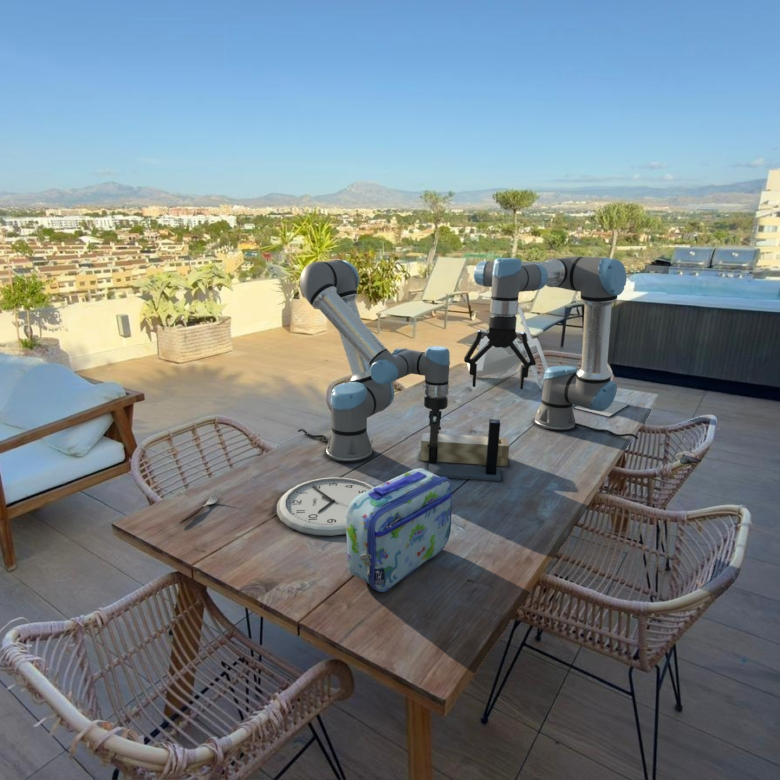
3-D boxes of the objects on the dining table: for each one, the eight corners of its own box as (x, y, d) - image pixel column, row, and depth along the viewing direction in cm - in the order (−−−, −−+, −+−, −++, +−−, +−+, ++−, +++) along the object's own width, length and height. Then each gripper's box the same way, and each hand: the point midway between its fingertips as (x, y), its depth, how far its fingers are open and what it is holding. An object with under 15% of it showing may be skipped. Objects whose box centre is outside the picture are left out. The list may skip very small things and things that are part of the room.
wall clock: (392, 527, 129) (268, 531, 127) (391, 533, 130) (269, 537, 127) (383, 473, 158) (282, 475, 155) (383, 478, 158) (282, 480, 156)
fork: (175, 524, 132) (174, 517, 132) (215, 495, 146) (215, 489, 146) (183, 526, 131) (182, 519, 131) (223, 497, 146) (222, 490, 145)
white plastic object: (487, 418, 267) (468, 395, 242) (469, 346, 289) (449, 318, 264) (558, 394, 255) (545, 368, 230) (533, 321, 277) (518, 289, 252)
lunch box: (374, 604, 105) (375, 512, 99) (340, 579, 113) (339, 492, 106) (455, 552, 123) (460, 471, 117) (421, 533, 130) (424, 456, 124)
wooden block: (505, 457, 175) (507, 437, 173) (507, 466, 168) (509, 446, 166) (421, 451, 178) (422, 432, 176) (420, 460, 171) (421, 440, 169)
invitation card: (608, 416, 214) (573, 407, 224) (608, 416, 214) (573, 408, 224) (628, 404, 229) (594, 396, 238) (628, 405, 229) (594, 397, 238)
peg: (495, 470, 163) (499, 419, 158) (495, 474, 160) (500, 423, 155) (485, 469, 163) (489, 418, 158) (485, 474, 160) (490, 422, 155)
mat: (498, 471, 165) (499, 468, 164) (500, 481, 158) (501, 478, 158) (429, 466, 167) (429, 463, 167) (428, 476, 160) (428, 473, 160)
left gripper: (426, 383, 180) (424, 441, 186) (422, 406, 156) (419, 471, 163) (448, 384, 179) (445, 442, 185) (447, 408, 156) (444, 473, 162)
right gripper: (546, 314, 149) (538, 385, 155) (458, 311, 152) (454, 381, 158) (551, 318, 142) (542, 392, 148) (458, 315, 145) (454, 388, 151)
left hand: (433, 456), depth 174 cm, fingers open, 12 cm apart
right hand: (497, 387), depth 153 cm, fingers open, 13 cm apart
